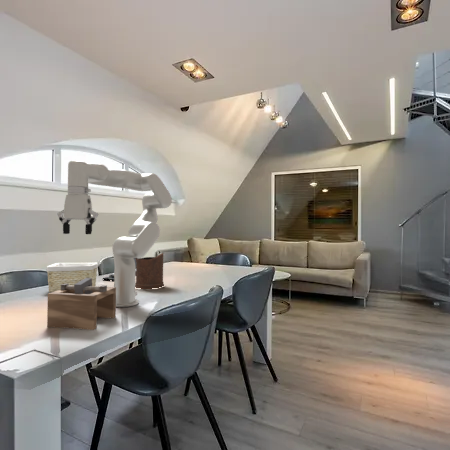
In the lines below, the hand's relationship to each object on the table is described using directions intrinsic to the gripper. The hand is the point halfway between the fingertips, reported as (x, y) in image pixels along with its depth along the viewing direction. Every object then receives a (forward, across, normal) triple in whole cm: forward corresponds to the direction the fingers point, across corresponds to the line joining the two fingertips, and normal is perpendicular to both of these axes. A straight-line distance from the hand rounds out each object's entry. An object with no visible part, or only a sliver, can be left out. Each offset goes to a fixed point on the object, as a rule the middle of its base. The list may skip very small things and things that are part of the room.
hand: (77, 233), depth 127 cm
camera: (+34, +28, -78) cm, 90 cm away
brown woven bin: (+34, -3, -63) cm, 71 cm away
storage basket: (+34, +33, -47) cm, 67 cm away
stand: (+33, -7, +6) cm, 35 cm away
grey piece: (+26, -7, +5) cm, 27 cm away
